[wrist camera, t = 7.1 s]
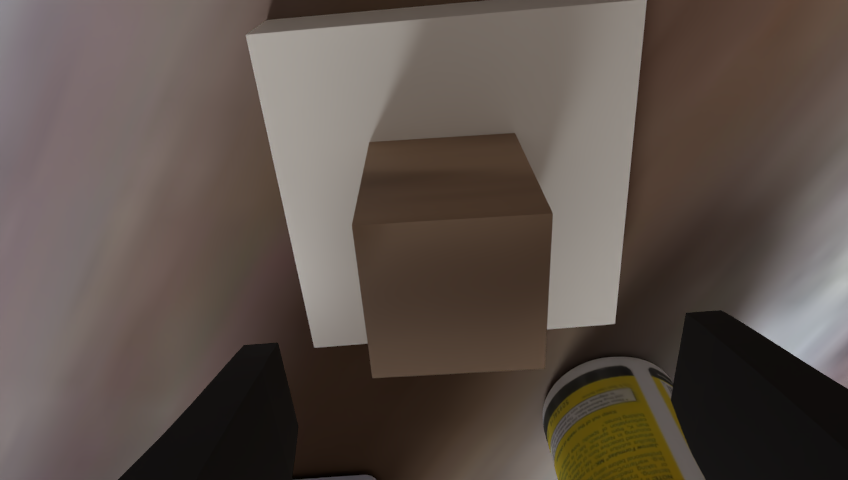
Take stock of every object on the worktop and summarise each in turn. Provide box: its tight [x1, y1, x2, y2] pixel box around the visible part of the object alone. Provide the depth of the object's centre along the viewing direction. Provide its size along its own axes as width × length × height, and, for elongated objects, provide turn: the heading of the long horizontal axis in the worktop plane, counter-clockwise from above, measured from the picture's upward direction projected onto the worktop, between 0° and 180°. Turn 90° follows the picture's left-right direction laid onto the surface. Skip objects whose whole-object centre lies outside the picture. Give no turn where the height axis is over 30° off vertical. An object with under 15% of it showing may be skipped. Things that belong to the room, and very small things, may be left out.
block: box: [352, 133, 553, 378], centre depth 15 cm, size 4×4×5 cm
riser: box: [246, 0, 647, 348], centre depth 18 cm, size 10×10×3 cm
